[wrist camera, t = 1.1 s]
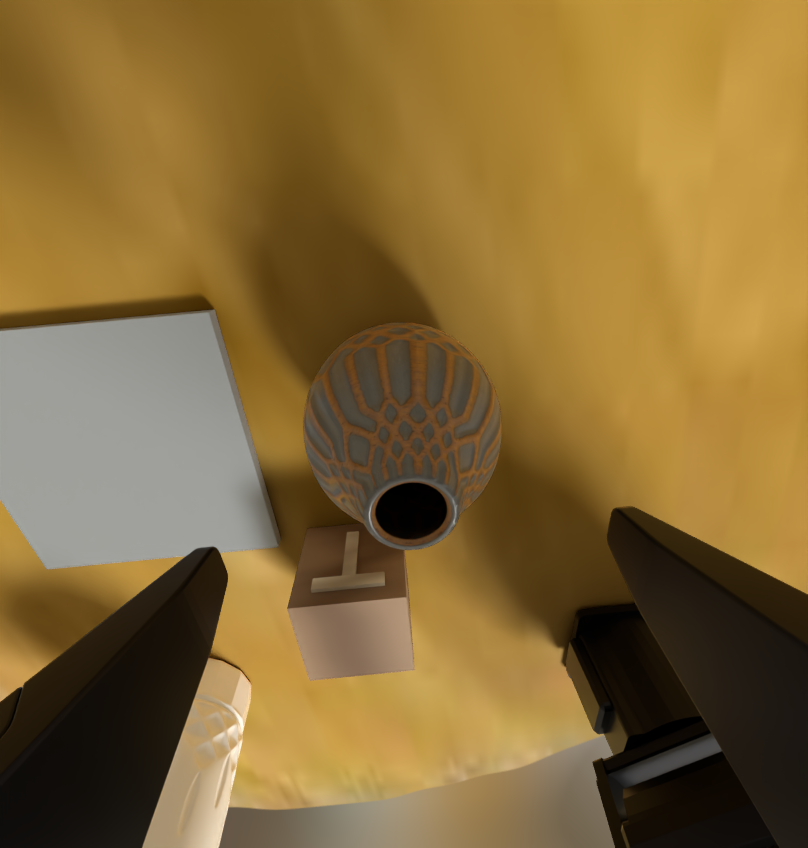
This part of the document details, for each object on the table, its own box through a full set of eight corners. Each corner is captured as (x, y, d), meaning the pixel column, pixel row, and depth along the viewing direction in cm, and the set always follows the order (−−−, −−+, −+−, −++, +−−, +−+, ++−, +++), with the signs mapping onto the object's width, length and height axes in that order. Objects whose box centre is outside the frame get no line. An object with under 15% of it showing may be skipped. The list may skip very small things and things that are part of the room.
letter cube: (400, 515, 21) (405, 593, 16) (408, 584, 23) (414, 669, 19) (306, 524, 21) (286, 605, 16) (323, 593, 23) (309, 680, 19)
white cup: (165, 632, 24) (34, 876, 15) (282, 673, 26) (230, 905, 17) (121, 697, 26) (-14, 938, 17) (230, 730, 29) (162, 956, 20)
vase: (321, 450, 19) (276, 610, 11) (318, 301, 16) (254, 373, 8) (463, 456, 19) (519, 613, 11) (487, 313, 16) (586, 392, 8)
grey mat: (214, 309, 16) (208, 312, 15) (281, 538, 21) (278, 547, 20) (-90, 336, 15) (-107, 341, 15) (55, 560, 21) (46, 569, 20)
